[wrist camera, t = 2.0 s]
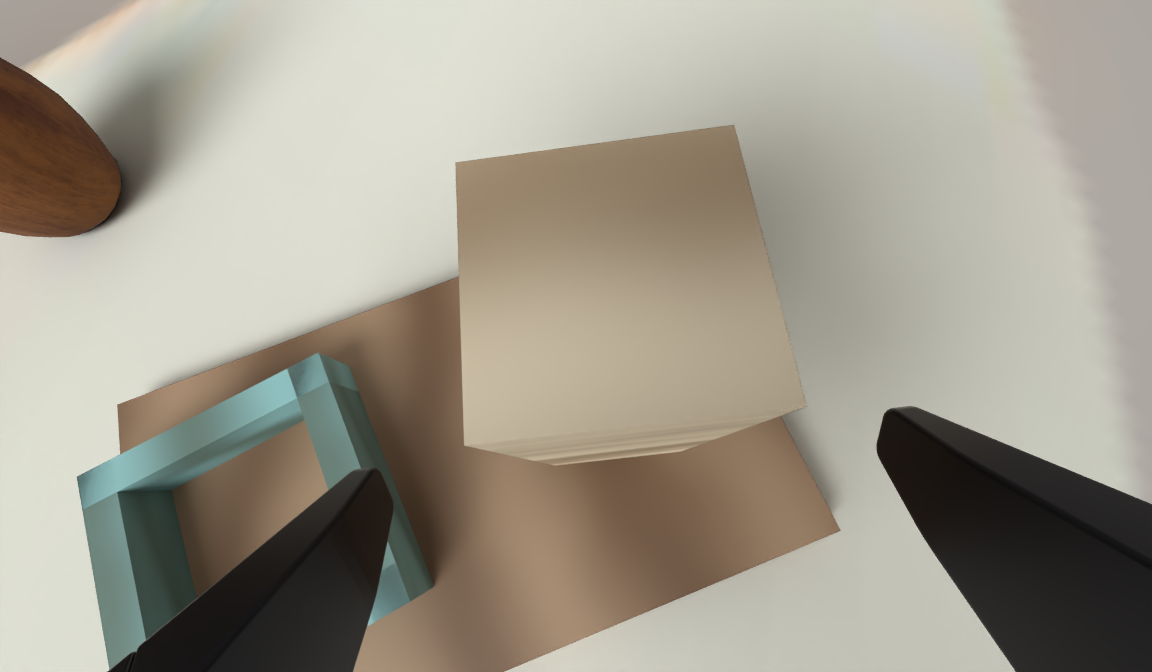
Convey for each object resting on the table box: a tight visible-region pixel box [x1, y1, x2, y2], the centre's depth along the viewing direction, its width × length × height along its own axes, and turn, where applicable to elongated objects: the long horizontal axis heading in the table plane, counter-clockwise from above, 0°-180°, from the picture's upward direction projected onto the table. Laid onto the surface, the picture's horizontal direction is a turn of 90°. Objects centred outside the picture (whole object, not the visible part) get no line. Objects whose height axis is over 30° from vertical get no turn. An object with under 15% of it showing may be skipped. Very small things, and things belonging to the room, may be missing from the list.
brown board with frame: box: [77, 277, 840, 672], centre depth 16 cm, size 24×14×3 cm, turn 111°
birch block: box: [456, 125, 807, 466], centre depth 12 cm, size 4×4×11 cm
